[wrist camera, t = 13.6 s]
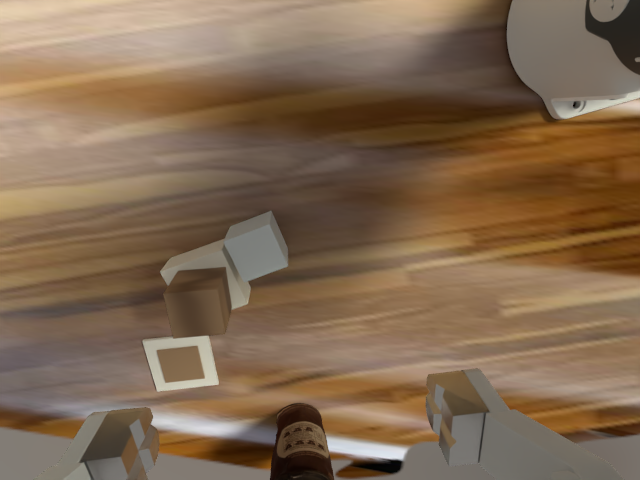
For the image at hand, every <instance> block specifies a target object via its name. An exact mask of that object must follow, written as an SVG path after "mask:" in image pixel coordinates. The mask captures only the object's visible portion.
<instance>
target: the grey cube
mask: <svg viewBox="0 0 640 480" xmlns="http://www.w3.org/2000/svg"><path fill="white" fill-rule="evenodd" d="M223 242H224V244H225V246H226V248H227V250H228V252H229V254H230V256H231V258H232V260H233V262H234V264H235V266H236V268H237V270H238V272H239V274H240V276H241V278H242V280H243V282H244V283H245V282H247V281H250V280H253V279H255V278H258V277H261V276H264V275H266V274H269V273H272V272H274V271H277V270H280V269H282V268H285V267H288V247H287V245H286V243H285V241H284V238H283V236H282V234H281V231H280V229H279V227H278V225H277V222H276V220H275V218H274V215H273V213H272V211H269V212H266V213H264V214H261V215H258V216H256V217H253V218H251V219H248V220H245V221H243V222H240V223H237V224H235V225H232V226H230V228H229V230H228V232H227V235H226V237H225V239H224V241H223Z"/></svg>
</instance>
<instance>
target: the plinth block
mask: <svg viewBox="0 0 640 480" xmlns="http://www.w3.org/2000/svg"><path fill="white" fill-rule="evenodd" d="M223 241H224V239H222V240H219V241H216V242H213V243H211V244H208V245H205V246H202V247H199V248H197V249H194V250H191V251H188V252H185V253H182V254H180V255H177V256H174V257H171V258H170V259H169V260H168V262H167V263H166V264H165V266H164V267H163V268H162V270H161V271H160V273H161V275H162V277H163V278H164V280H165V282H166V284H167V285H169V284H170V282H171V281H172V279H173V278H174V276H175V275H176V273H177V271H180V270H193V269H206V268H219V267H226V272H227V278H228V285H229V291H230V298H231V304H232V309H235V308H238V307H241V306H244V305H247V304H248V301H249V296H250V291H251V287H250V285H249V283H248V281H247V282H245V283H244V282H243V280H242V278H241V276H240V274H239V272H238V270H237V268H236V266H235V264H234V262H233V260H232V258H231V256H230V254H229V252H228V250H227V248H226V246H225V244H224V242H223ZM232 309H231V310H232Z"/></svg>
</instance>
